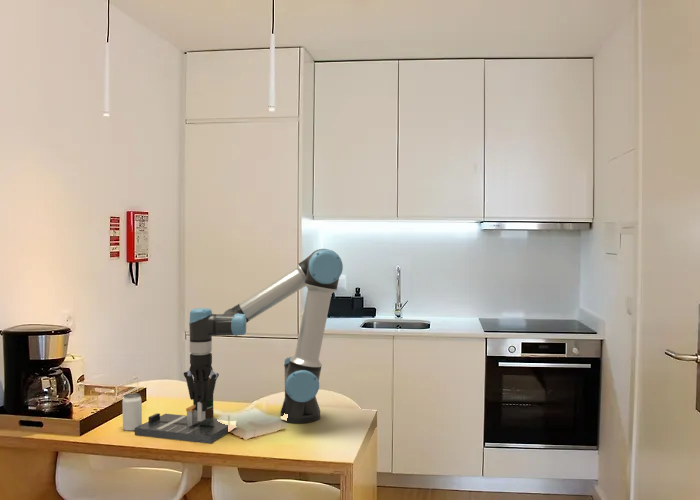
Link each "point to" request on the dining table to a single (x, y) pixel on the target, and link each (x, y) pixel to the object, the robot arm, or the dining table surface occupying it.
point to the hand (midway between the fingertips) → (201, 420)
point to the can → (132, 411)
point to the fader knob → (192, 415)
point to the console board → (182, 428)
